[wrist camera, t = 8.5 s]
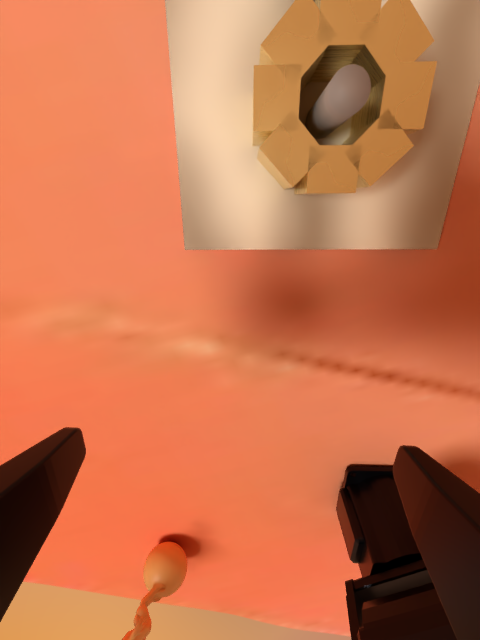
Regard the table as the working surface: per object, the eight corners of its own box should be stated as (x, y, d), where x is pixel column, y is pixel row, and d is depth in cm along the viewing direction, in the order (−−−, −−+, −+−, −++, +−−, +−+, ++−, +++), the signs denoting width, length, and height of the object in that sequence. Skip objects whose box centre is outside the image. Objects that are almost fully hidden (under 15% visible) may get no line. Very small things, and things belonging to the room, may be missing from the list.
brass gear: (402, 31, 12) (455, -27, 9) (375, 193, 15) (410, 192, 12) (253, 35, 13) (254, -20, 9) (252, 194, 15) (252, 193, 12)
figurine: (178, 571, 31) (138, 780, 20) (123, 557, 30) (50, 765, 19) (202, 525, 28) (170, 742, 17) (141, 508, 27) (66, 723, 16)
